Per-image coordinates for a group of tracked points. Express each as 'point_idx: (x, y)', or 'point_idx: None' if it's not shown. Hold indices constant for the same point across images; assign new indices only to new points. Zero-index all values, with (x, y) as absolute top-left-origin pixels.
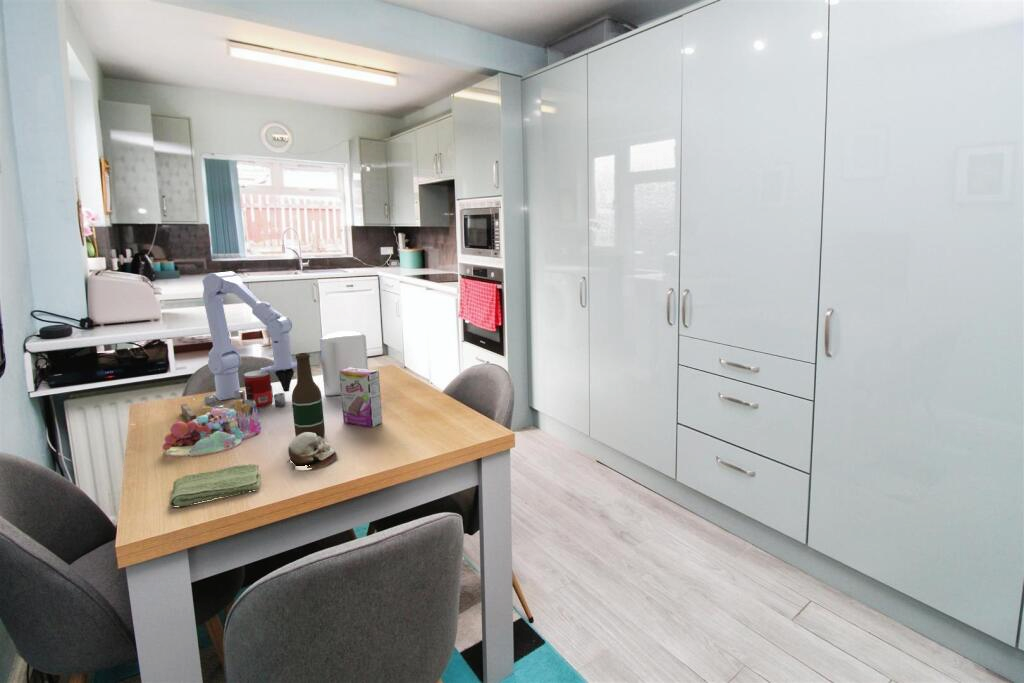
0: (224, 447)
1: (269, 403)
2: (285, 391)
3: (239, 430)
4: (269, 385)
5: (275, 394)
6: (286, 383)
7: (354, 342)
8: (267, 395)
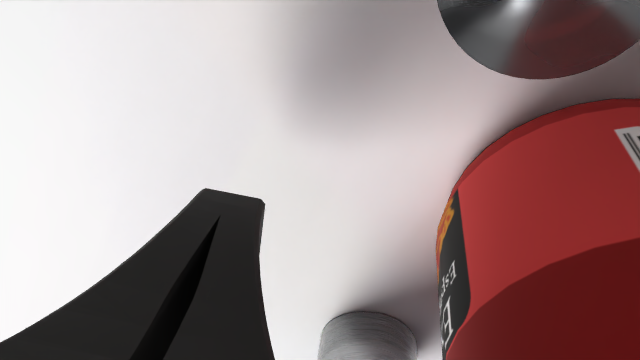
0: None
1: (558, 117)
2: (258, 201)
3: None
4: (589, 346)
5: (604, 38)
6: (184, 303)
7: None
8: (632, 185)
